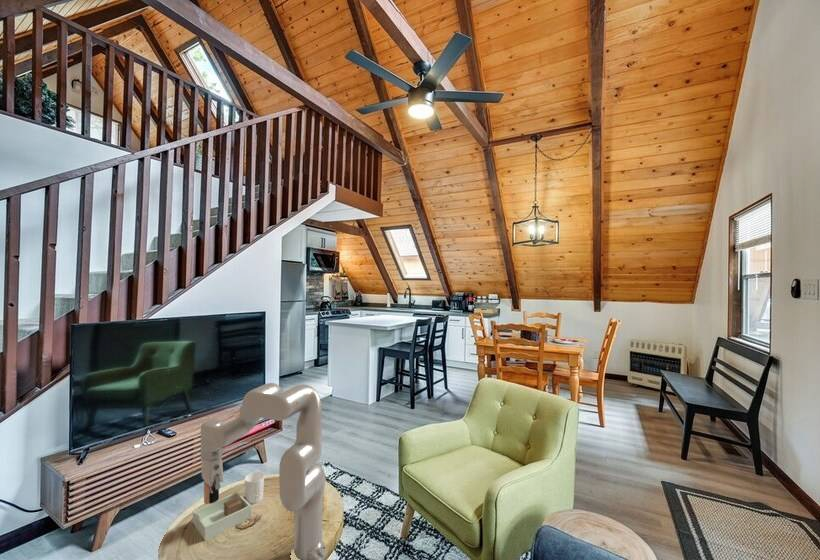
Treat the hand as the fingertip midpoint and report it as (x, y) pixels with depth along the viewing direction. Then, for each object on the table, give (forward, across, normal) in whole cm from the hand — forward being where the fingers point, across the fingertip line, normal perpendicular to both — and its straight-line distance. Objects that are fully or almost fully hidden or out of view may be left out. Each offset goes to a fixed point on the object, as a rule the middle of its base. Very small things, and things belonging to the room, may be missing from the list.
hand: (211, 497), depth 142 cm
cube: (+11, 0, -8) cm, 13 cm away
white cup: (+11, +4, -19) cm, 23 cm away
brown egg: (+1, 0, 0) cm, 1 cm away
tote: (+11, 0, -4) cm, 12 cm away
